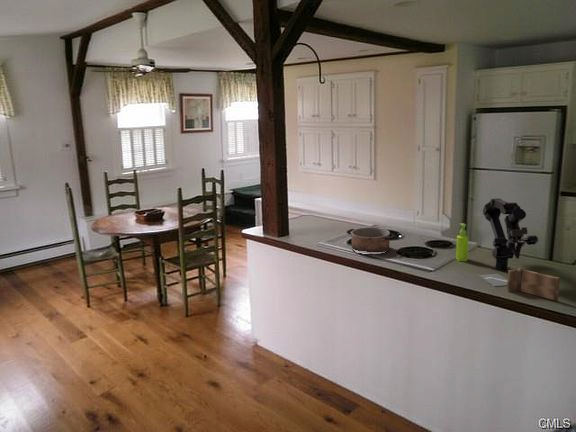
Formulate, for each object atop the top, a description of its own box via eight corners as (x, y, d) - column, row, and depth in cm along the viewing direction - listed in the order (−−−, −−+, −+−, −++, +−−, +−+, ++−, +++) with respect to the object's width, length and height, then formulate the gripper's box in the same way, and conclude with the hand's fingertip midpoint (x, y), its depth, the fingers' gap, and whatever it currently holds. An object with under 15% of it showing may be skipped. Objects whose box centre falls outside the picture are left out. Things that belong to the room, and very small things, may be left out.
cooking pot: (401, 248, 273) (401, 231, 270) (385, 259, 255) (385, 240, 253) (357, 241, 290) (357, 224, 288) (339, 250, 273) (339, 233, 271)
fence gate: (520, 291, 205) (522, 269, 202) (522, 290, 206) (524, 268, 203) (556, 301, 193) (559, 278, 191) (558, 300, 194) (560, 277, 192)
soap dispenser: (463, 256, 253) (465, 222, 248) (469, 261, 246) (471, 225, 241) (453, 257, 253) (455, 222, 248) (458, 261, 246) (460, 226, 241)
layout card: (478, 275, 225) (478, 275, 225) (497, 274, 226) (497, 273, 226) (494, 286, 212) (494, 285, 211) (514, 285, 213) (514, 284, 212)
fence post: (508, 292, 205) (510, 270, 202) (506, 290, 207) (507, 268, 204) (521, 291, 206) (523, 269, 203) (519, 289, 207) (521, 267, 205)
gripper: (494, 222, 213) (499, 254, 207) (538, 219, 208) (544, 252, 202) (490, 230, 223) (495, 261, 217) (532, 228, 218) (538, 259, 213)
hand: (517, 258), depth 212 cm, fingers closed
